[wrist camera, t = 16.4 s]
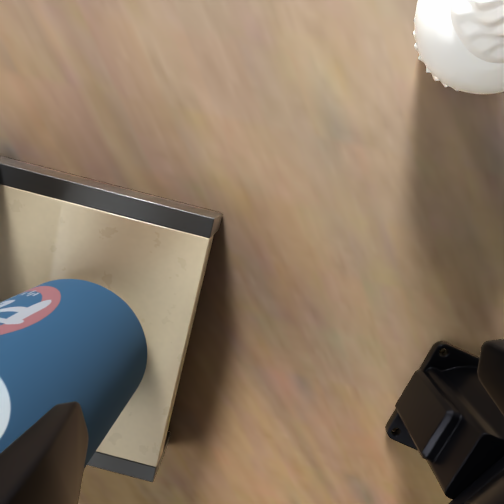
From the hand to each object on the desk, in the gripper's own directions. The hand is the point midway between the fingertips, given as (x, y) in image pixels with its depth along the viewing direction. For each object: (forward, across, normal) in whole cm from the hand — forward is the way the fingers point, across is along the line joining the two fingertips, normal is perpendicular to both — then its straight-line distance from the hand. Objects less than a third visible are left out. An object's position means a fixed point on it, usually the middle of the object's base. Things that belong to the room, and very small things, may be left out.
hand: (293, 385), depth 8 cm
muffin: (+13, -12, -8) cm, 19 cm away
